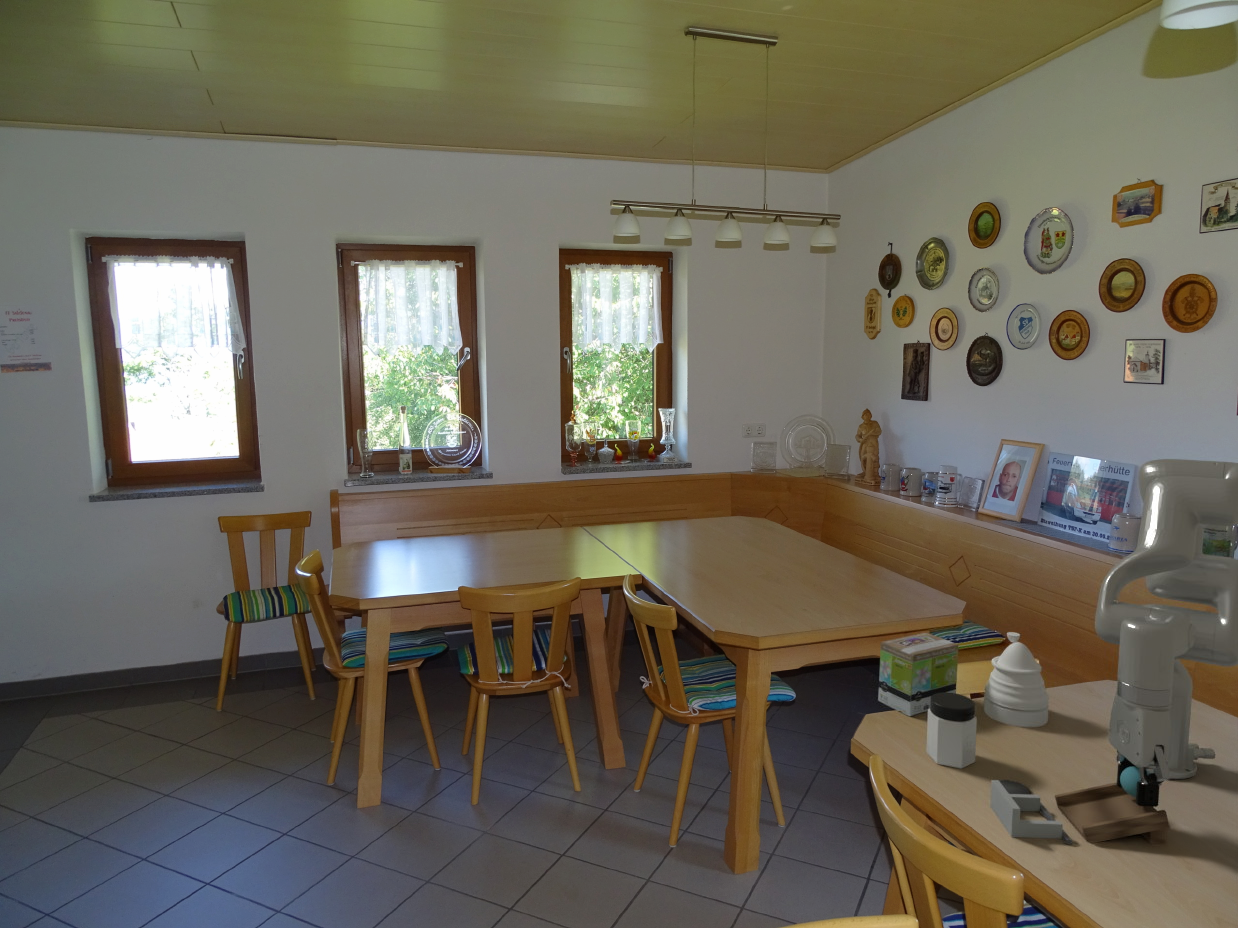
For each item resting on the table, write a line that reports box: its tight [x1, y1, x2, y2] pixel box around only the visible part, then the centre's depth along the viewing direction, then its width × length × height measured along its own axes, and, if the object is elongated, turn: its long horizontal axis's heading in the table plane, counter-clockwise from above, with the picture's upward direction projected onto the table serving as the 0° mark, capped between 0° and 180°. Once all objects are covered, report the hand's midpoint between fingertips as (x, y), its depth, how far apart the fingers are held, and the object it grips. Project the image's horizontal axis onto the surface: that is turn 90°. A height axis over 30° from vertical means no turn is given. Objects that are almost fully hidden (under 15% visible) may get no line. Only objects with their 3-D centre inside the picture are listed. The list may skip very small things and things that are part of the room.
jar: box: [926, 692, 978, 769], centre depth 153 cm, size 9×8×12 cm
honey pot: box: [983, 631, 1050, 728], centre depth 172 cm, size 13×13×18 cm
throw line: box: [1039, 801, 1073, 845], centre depth 131 cm, size 1×12×1 cm, turn 175°
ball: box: [1120, 766, 1150, 798], centre depth 129 cm, size 5×5×5 cm
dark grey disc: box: [998, 779, 1033, 795], centre depth 141 cm, size 6×6×1 cm
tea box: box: [877, 632, 959, 717], centre depth 179 cm, size 15×10×15 cm
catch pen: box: [989, 779, 1064, 840], centre depth 131 cm, size 8×9×5 cm
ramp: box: [1054, 781, 1170, 844], centre depth 130 cm, size 13×10×6 cm
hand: (1136, 794), depth 129 cm, fingers closed on ball, 4 cm apart
